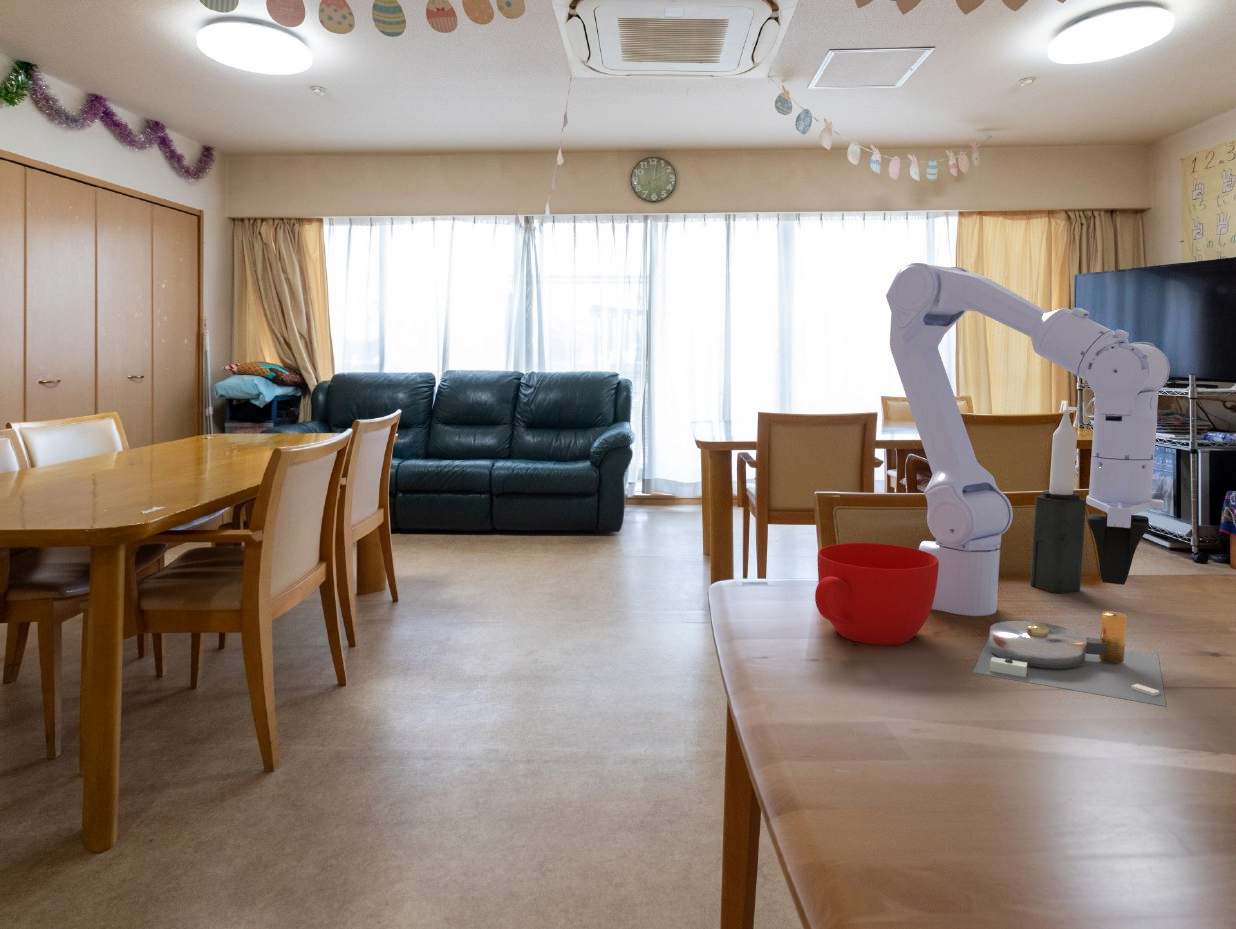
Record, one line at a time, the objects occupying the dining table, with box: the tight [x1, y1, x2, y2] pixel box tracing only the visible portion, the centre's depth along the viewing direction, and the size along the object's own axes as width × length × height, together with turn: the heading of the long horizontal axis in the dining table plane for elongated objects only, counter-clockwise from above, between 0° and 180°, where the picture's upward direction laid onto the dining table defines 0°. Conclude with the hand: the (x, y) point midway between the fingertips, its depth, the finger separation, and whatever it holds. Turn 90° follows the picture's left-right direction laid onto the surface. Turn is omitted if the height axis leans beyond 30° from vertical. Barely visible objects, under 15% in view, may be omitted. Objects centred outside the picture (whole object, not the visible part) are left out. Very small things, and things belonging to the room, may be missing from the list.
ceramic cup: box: [814, 542, 939, 646], centre depth 93 cm, size 13×17×10 cm
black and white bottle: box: [1029, 408, 1087, 594], centre depth 116 cm, size 5×5×25 cm
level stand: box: [972, 634, 1167, 707], centre depth 85 cm, size 16×15×2 cm
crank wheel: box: [988, 610, 1128, 668], centre depth 86 cm, size 13×9×5 cm
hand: (1113, 582), depth 90 cm, fingers closed
